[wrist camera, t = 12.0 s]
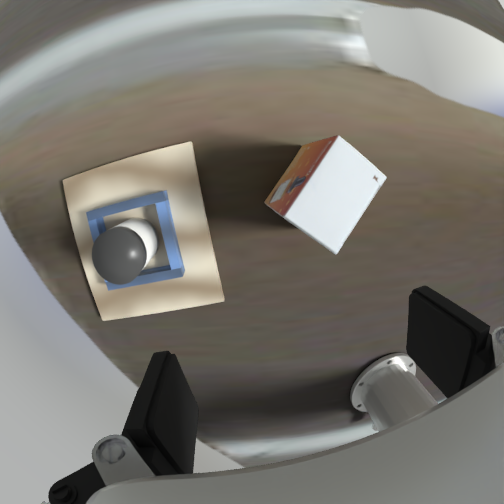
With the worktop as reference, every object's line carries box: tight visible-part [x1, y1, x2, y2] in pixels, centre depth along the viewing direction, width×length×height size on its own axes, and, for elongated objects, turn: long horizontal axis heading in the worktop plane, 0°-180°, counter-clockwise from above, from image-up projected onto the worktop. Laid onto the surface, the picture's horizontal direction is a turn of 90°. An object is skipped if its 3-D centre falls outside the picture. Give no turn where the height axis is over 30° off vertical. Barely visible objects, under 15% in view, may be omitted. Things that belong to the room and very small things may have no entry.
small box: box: [265, 135, 386, 254], centre depth 26 cm, size 8×6×10 cm
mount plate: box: [63, 142, 224, 321], centre depth 29 cm, size 18×16×3 cm
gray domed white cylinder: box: [92, 218, 159, 285], centre depth 26 cm, size 5×5×7 cm
